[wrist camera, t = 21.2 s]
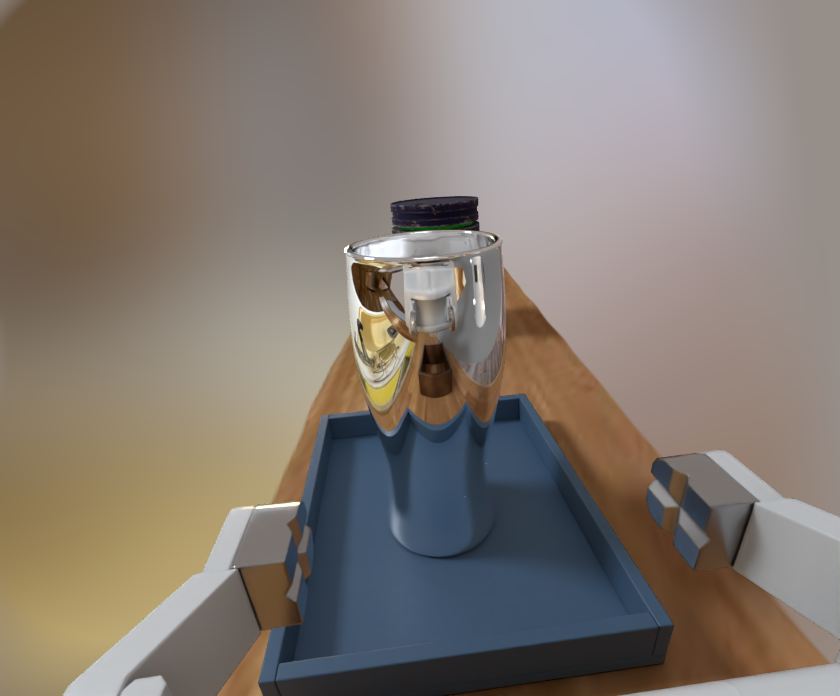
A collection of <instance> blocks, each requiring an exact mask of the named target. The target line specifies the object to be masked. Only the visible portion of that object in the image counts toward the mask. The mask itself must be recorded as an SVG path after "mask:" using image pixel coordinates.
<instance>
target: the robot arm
mask: <svg viewBox="0 0 840 696" xmlns="http://www.w3.org/2000/svg"><path fill="white" fill-rule="evenodd" d="M651 473H652V474H653V475H654V477H655V478H656V479H655V480H654V481H653V482H652V483H651V484H650V485H649V486H648V491H647V498H646V499H647V503H648V508H649V511H650V513H651V515H652V517H653V519H654V521H655V522H656V523H657V525H658V526H659V527H660V529H662V530H664V531H666V532H668V533H669V534H671V535H673V545H674V547H675V548H676V549H677V550H678V552H679V553H680V554H681V555H682V557H683V558H684V559H685V560H686V562H687V563H688V564H689V566H690V567H691V568H692V569H693V571H700V570H709V569H719V568H728V567H733V570H735V571H736V572H738V573H739V574H741V575H742V576H744V577H745V578H747V579H748V580H750V581H751V582H753V583H754V584H756V585H757V586H759V587H760V588H762V589H763V590H765V591H766V592H768V593H769V594H771V595H772V596H774V597H775V598H777V599H778V600H780V601H781V602H783V603H785V604H786V605H787V606H789V607H790V608H792V609H794V610H795V611H797V612H798V613H800V614H801V615H803V616H804V617H806V618H807V619H809V620H810V621H812V622H813V623H815V624H816V625H818V626H819V627H821V628H822V629H824V630H825V631H827V632H828V633H830V634H831V635H833V636H834V637H836V638H837V639H839V640H840V517H838V516H836V515H833V514H831V513H829V512H826V511H824V510H821V509H819V508H816V507H814V506H811V505H809V504H806V503H804V502H801V501H798V500H796V499H793V498H789V499H785V498H784V497H783V496H782V495H780V494H779V493H778V492H777V491H775V490H774V489H772V487H770V486H769V485H768V484H767V483H765V482H764V481H763V480H762V479H760V478H759V477H758V476H757V475H756V474H754V473H753V472H752V471H751V470H749V469H748V468H747V467H746V466H744V465H743V464H742V463H740V462H739V461H738V460H737V459H736V458H735V457H733V456H732V455H731V454H729V453H728V452H726V451H723V450H713V451H706V452H699V453H693V454H685V455H678V456H670V457H661V458H657V459H656V460H655V461H654V462H653V465H652V470H651ZM306 518H307V511H306V507H305V504H304V502H303V501H292V502H282V503H271V504H262V505H257V506H245V507H235V508H233V509H232V510H231V511H230V512H229V513H228V516H227V518H226V520H225V522H224V525H223V527H222V529H221V531H220V534H219V536H218V538H217V540H216V542H215V545H214V547H213V550H212V552H211V554H210V556H209V558H208V561H207V563H206V565H205V567H204V569H203V572H202V573H198V574H194V575H193V576H192V577H191V578H190V579H188V580H187V581H186V582H185V583H184V584H183V585H182V586H180V587H179V588H178V589H177V590H176V591H175V592H174V593H173V594H171V595H170V596H169V597H168V598H167V599H166V600H165V601H163V602H162V603H161V604H160V605H159V606H158V607H157V608H156V609H154V610H153V611H152V612H151V613H150V614H149V615H148V616H147V617H146V618H144V619H143V620H142V621H141V622H140V623H139V624H138V625H136V626H135V627H134V628H133V629H132V630H131V631H130V632H129V633H127V634H126V635H125V636H124V637H123V638H122V639H121V640H120V641H118V642H117V643H116V644H115V645H114V646H113V647H112V648H111V649H109V650H108V651H107V652H106V653H105V654H104V655H103V656H102V657H100V658H99V659H98V660H97V661H96V662H95V663H94V664H92V665H91V666H90V667H89V668H88V669H87V670H86V671H85V672H84V673H82V674H81V675H80V676H79V677H78V678H77V679H76V680H74V681H73V682H72V683H71V684H70V685H69V686H68V688H67V689H66V691H65V693H64V694H63V696H217V694H218V693H219V691H220V690H221V689H222V687H223V686H224V684H225V683H226V682H227V680H228V679H229V677H230V676H231V675H232V673H233V672H234V670H235V669H236V668H237V666H238V665H239V663H240V662H241V661H242V659H243V658H244V656H245V655H246V654H247V652H248V651H249V649H250V648H251V647H252V645H253V644H254V643H255V641H256V640H257V638H258V637H259V636H260V634H261V632H260V631H262V630H268V629H274V628H280V627H286V626H292V625H299V624H303V620H304V615H305V609H306V603H307V598H308V589H307V585H306V582H305V581H306V579H307V578H308V577H309V576H310V575H311V574H312V568H313V561H314V543H313V535H312V531H311V528H310V527H309V526H307V525H306V524H305V523H306ZM619 696H840V650H839V652H838V654H837V656H836V657H835V662H834V664H827V665H820V666H814V667H807V668H800V669H794V670H787V671H780V672H773V673H767V674H760V675H753V676H747V677H740V678H733V679H727V680H720V681H713V682H706V683H700V684H693V685H686V686H680V687H673V688H666V689H660V690H653V691H646V692H639V693H633V694H626V695H619Z"/></svg>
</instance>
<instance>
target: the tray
mask: <svg viewBox="0 0 840 696" xmlns="http://www.w3.org/2000/svg"><path fill="white" fill-rule="evenodd" d="M487 476H488V483H489V487H490V491H491V495H492V499H493V503H494V509H495V518H494V523H493V526H492V528H491V530H490V532H489V534H488V535H487V536H486V538H485V539H484V540H483V541H482V542H481V543H480V544H478V545H477V546H476V547H474V548H473V549H471V550H469V551H467V552H464V553H462V554H459V555H455V556H449V557H430V556H424V555H421V554H417V553H415V552H413V551H410V550H409V549H407V548H405V547H404V546H402V545H401V544H400V543H399V542H398V541H397V540H396V539H395V538H394V536H393V535H392V533H391V531H390V529H389V527H388V524H387V520H386V501H387V492H388V469H387V464H386V459H385V455H384V452H383V449H382V446H381V442H380V440H379V437H378V434H377V431H376V428H375V426H374V423H373V420H372V417H371V414H370V411H369V410H367V411H358V412H349V413H339V414H330V415H322V416H321V420H320V424H319V428H318V433H317V437H316V441H315V445H314V450H313V454H312V458H311V462H310V467H309V471H308V475H307V479H306V483H305V488H304V492H303V496H302V500H301V501H303V502H304V504H305V507H306V511H307V518H306V523H305V524H306V525H307V526H309V527H310V528H311V531H312V535H313V543H314V561H313V568H312V574H311V575H310V576H309V577H308V578H307V579H306V581H305V582H306V585H307V589H308V598H307V603H306V609H305V615H304V620H303V624H299V625H292V626H286V627H280V628H274V629H271V632H270V636H269V640H268V644H267V648H266V653H265V657H264V661H263V665H262V670H261V674H260V678H259V682H258V683H259V687H260V689H261V692H262V694H263V696H442V695H449V694H455V693H462V692H469V691H476V690H483V689H490V688H496V687H503V686H510V685H517V684H524V683H531V682H537V681H544V680H551V679H558V678H565V677H571V676H578V675H585V674H592V673H599V672H606V671H612V670H619V669H626V668H633V667H640V666H647V665H653V664H660V663H663V662H664V659H665V656H666V655H665V653H666V652H667V648H668V645H669V641H670V638H671V634H672V631H673V627H674V624H673V622H672V620H671V619H670V617H669V616H668V614H667V613H666V611H665V610H664V608H663V607H662V605H661V603H660V602H659V600H658V599H657V597H656V596H655V594H654V593H653V591H652V589H651V588H650V586H649V585H648V583H647V582H646V580H645V579H644V577H643V576H642V574H641V572H640V571H639V569H638V568H637V566H636V565H635V563H634V562H633V560H632V559H631V557H630V555H629V554H628V552H627V551H626V549H625V548H624V546H623V545H622V543H621V542H620V540H619V538H618V537H617V535H616V534H615V532H614V531H613V529H612V528H611V526H610V525H609V523H608V521H607V520H606V518H605V517H604V515H603V514H602V512H601V511H600V509H599V508H598V506H597V504H596V503H595V501H594V500H593V498H592V497H591V495H590V494H589V492H588V491H587V489H586V487H585V486H584V484H583V483H582V481H581V480H580V478H579V477H578V475H577V474H576V472H575V470H574V469H573V467H572V466H571V464H570V463H569V461H568V460H567V458H566V457H565V455H564V453H563V452H562V450H561V449H560V447H559V446H558V444H557V443H556V441H555V440H554V438H553V436H552V435H551V433H550V432H549V430H548V429H547V427H546V426H545V424H544V423H543V421H542V419H541V418H540V416H539V415H538V413H537V412H536V410H535V409H534V407H533V406H532V404H531V402H530V401H529V399H528V398H527V396H526V395H525V394H518V395H507V396H499V401H498V406H497V410H496V415H495V420H494V424H493V429H492V433H491V438H490V443H489V449H488V458H487Z"/></svg>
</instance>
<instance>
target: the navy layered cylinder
mask: <svg viewBox="0 0 840 696" xmlns="http://www.w3.org/2000/svg"><path fill="white" fill-rule="evenodd" d="M477 206H478V197H472V196H451V197H435V198H434V197H433V198H421V199H412V200H404V201H398V202H393V203H391V212H393V217H392V225H393V226H394V227H393V228H392V234H396V233H404V232H414V231H428V230H473V231H479V222H478V221H476V220H478V211H477Z"/></svg>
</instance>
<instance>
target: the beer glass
mask: <svg viewBox="0 0 840 696" xmlns="http://www.w3.org/2000/svg"><path fill="white" fill-rule="evenodd" d="M502 242H503V240H502V238H501V237H500V236H498V235H496V234H493V233H489V232H483V231H473V230H428V231H414V232H404V233H396V234H389V235H383V236H378V237H373V238H368V239H365V240H361V241H358V242H355V243H353V244H351V245H349V246H347V247H346V248H345V251H344V253H345V257H346V268H347V286H348V304H349V318H350V327H351V336H352V344H353V350H354V355H355V361H356V366H357V372H358V375H359V379H360V382H361V386H362V389H363V393H364V396H365V400H366V403H367V405H368V408H369V411H370V414H371V417H372V420H373V423H374V426H375V428H376V431H377V434H378V437H379V440H380V442H381V446H382V449H383V452H384V455H385V459H386V464H387V469H388V492H387V501H386V520H387V524H388V527H389V529H390V531H391V533H392V535H393V536H394V538H395V539H396V540H397V541H398V542H399V543H400V544H401V545H402V546H404V547H405V548H407V549H409V550H410V551H413V552H415V553H417V554H421V555H424V556H430V557H449V556H455V555H459V554H462V553H464V552H467V551H469V550H471V549H473V548H474V547H476V546H477V545H478V544H480V543H481V542H482V541H483V540H484V539H485V538H486V536H487V535H488V534H489V532H490V530H491V528H492V526H493V523H494V518H495V509H494V503H493V499H492V495H491V491H490V487H489V483H488V476H487V458H488V449H489V443H490V438H491V433H492V429H493V424H494V420H495V415H496V410H497V406H498V401H499V396H500V391H501V385H502V378H503V372H504V365H505V351H506V299H505V283H504V270H503V258H502V257H503V256H502Z"/></svg>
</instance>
